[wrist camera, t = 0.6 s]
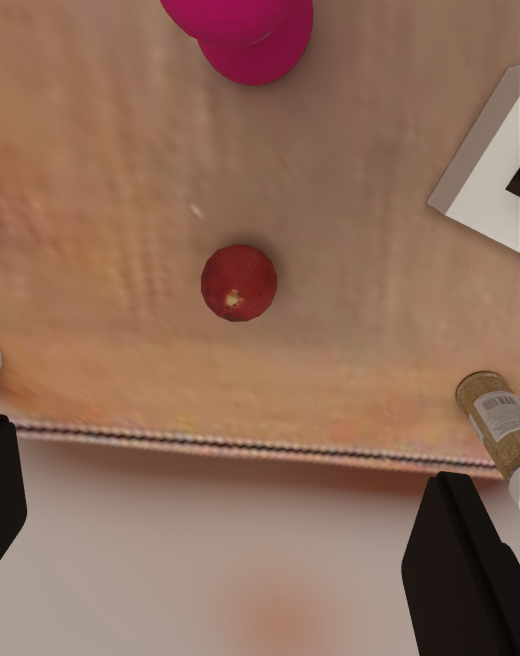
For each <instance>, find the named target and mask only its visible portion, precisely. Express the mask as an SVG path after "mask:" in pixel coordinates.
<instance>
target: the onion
mask: <svg viewBox="0 0 520 656" xmlns="http://www.w3.org/2000/svg"><path fill="white" fill-rule="evenodd" d="M276 290H277V275H276V272H275V270H274V267H273V265H272V262H271V260H270V259H269V258H268V257H267V256H266V255H265V254H264V253H263V252H262V251H260V250H258V249H255V248H253V247H251V246H248V245H232V246H229V247H226V248H223V249H220V250H217V251H216V252H215V253H214V254H213V255H212V256H211V257H210V258H209V260H208V261H207V262H206V265H205V268H204V270H203V273H202V276H201V292H202V295H203V297H204V300H205V302H206V304H207V306H208V307H209V308H210V309H211V310H212V311H213V312H214V313H215V314H216V315H217V316H219V317H221V318H224V319H226V320H228V321H231V322H240V321H248V320H251V319H253V318H255V317H258V316H260V315H261V314H262V313H263V312H264V311H265V310H266V309H267V308H268V307H269V306H270V305H271V303H272V300H273V298H274V295H275V293H276Z"/></svg>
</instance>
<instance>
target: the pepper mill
mask: <svg viewBox="0 0 520 656" xmlns="http://www.w3.org/2000/svg"><path fill="white" fill-rule="evenodd" d="M160 2H161V4H162V5H163V7H164V9H165V10H166V12H167V13H168V15H169V16H170V17H171V18H172V20H173V21H174V22H175V23H176V24H177V25H178V26H179V27H180V28H182V29H183V30H184V31H185V32H186V33H187V34H188V35H189V36H191V37H193V38H195V39H197V41H198V43H199V46H200V48H201V50H202V51H203V53H204V55H205V57H206V58H207V60H208V61H209V62H210V64H211V65H212V66H213V67H214V68H215V69H216V70H217V71H218V72H219V73H220V74H222V75H223V76H225V77H226V78H228V79H230V80H232V81H234V82H237V83H240V84H245V85H261V84H267V83H269V82H272V81H275V80H277V79H278V78H280V77H282V76H283V75H285V74H286V73H287V72H288V71H290V70H291V69H292V68H293V67H294V65H295V64H296V63H297V62H298V60H299V59H300V57H301V56H302V54H303V53H304V51H305V48H306V46H307V44H308V41H309V38H310V34H311V30H312V24H313V3H312V0H160Z"/></svg>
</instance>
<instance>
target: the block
mask: <svg viewBox="0 0 520 656" xmlns="http://www.w3.org/2000/svg"><path fill="white" fill-rule="evenodd" d="M519 168H520V65H516V66H512V67H508V68H507V70H506V72H505V73H504V75H503V77H502V78H501V80H500V82H499V83H498V85H497V87H496V88H495V90H494V92H493V93H492V95H491V97H490V98H489V100H488V102H487V103H486V105H485V107H484V108H483V110H482V111H481V113H480V115H479V116H478V118H477V120H476V121H475V123H474V125H473V126H472V128H471V130H470V131H469V133H468V135H467V136H466V138H465V140H464V141H463V143H462V145H461V146H460V148H459V150H458V151H457V153H456V155H455V156H454V158H453V160H452V161H451V163H450V164H449V166H448V168H447V169H446V171H445V173H444V174H443V176H442V178H441V179H440V181H439V183H438V184H437V186H436V188H435V189H434V191H433V193H432V194H431V196H430V198H429V199H428V201H427V204H428V205H430V206H432V207H433V208H435V209H436V210H438V211H440V212H441V213H443V214H444V215H446V216H448V217H450V218H452V219H454V220H456V221H458V222H460V223H462V224H464V225H466V226H468V227H470V228H472V229H474V230H476V231H478V232H480V233H482V234H484V235H486V236H488V237H490V238H492V239H494V240H496V241H498V242H500V243H502V244H504V245H506V246H508V247H510V248H512V249H514V250H515V251H517V252H519V253H520V197H518V196H516V195H514V194H513V193H511V192H509V191H507V190H505V188H506V187H507V185H508V184H509V182H510V181H511V179H512V178H513V176H514V175H515V173H516V172H517V171H518V169H519Z"/></svg>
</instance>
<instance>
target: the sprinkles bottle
mask: <svg viewBox="0 0 520 656" xmlns="http://www.w3.org/2000/svg"><path fill="white" fill-rule="evenodd" d="M457 401H458V404H459V406H460V408H461V409H462V410H463V411H464V412H465V414H466V415H467V417H468V419H469V420H470V423H471V425H472V427H473V429H474V431H475V432H476V434H477V436H478V437H479V439H480V441H481V442H482V444H483V446H484V447H485V448H486V449H487V451H488V453H489V454H490V456H491V457H492V459H493V461H494V462H495V464H496V466H497V468H498V470H499V471H500V473H501V474H502V476H503V478H504V479H505V481H506V482H507V484H508V487H509V492H510V495H511V497H512V499H513V501H514V502H515V504H516V506H517V507H518V509H519V510H520V399H519V398H518V397H517V396H516V395H515V394H514V393H513V391H512V390H511V389H510V388H509V386H508V383H507V382H506V381H505V380H504V378H503V377H501V376H500V375H498V374H495V373H492V372H482V373H476V374H474V375H471V376H469V377H468V378H466V379H465V380H464V381H463V382H462V384H461V385H460V386H459V388H458V390H457Z"/></svg>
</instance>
